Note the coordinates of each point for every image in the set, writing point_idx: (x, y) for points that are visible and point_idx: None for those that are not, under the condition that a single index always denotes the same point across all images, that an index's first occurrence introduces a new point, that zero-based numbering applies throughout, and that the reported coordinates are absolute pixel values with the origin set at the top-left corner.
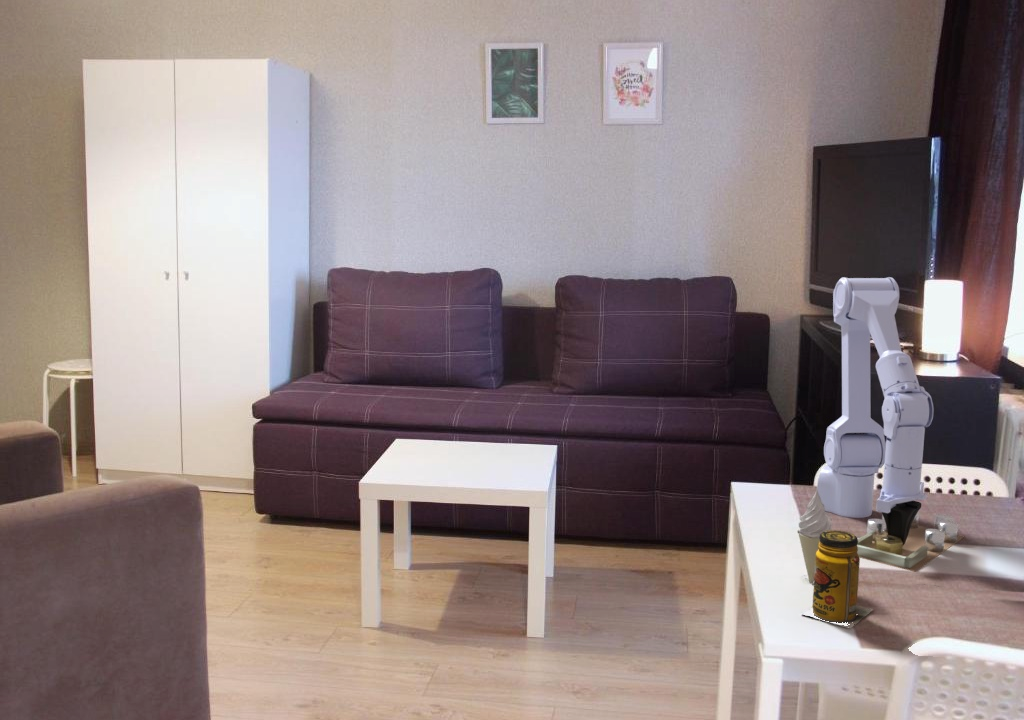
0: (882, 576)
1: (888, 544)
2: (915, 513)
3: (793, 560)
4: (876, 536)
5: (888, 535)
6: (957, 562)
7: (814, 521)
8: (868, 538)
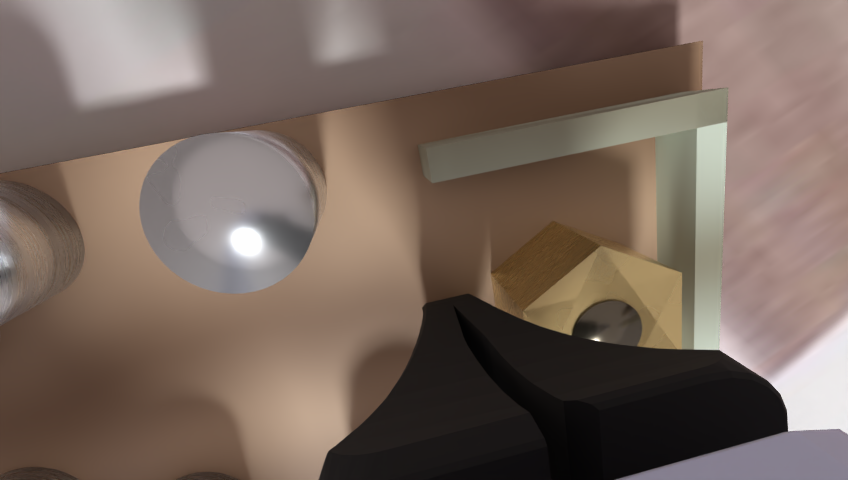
0: (735, 172)
1: (676, 284)
2: (432, 404)
3: None
4: None
5: None
6: (234, 29)
7: None
8: None
